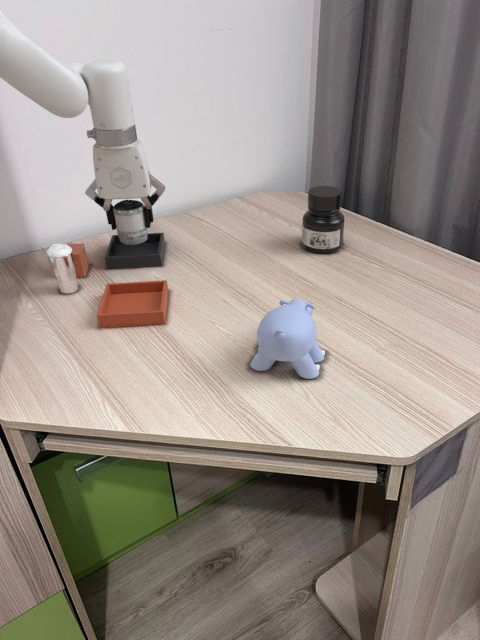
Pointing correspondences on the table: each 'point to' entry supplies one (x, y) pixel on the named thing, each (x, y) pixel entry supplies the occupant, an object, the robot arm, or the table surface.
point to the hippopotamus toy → (289, 339)
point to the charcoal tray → (135, 252)
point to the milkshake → (63, 267)
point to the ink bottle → (323, 220)
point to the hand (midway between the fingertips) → (131, 225)
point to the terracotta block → (79, 259)
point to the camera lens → (130, 222)
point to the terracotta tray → (133, 304)
